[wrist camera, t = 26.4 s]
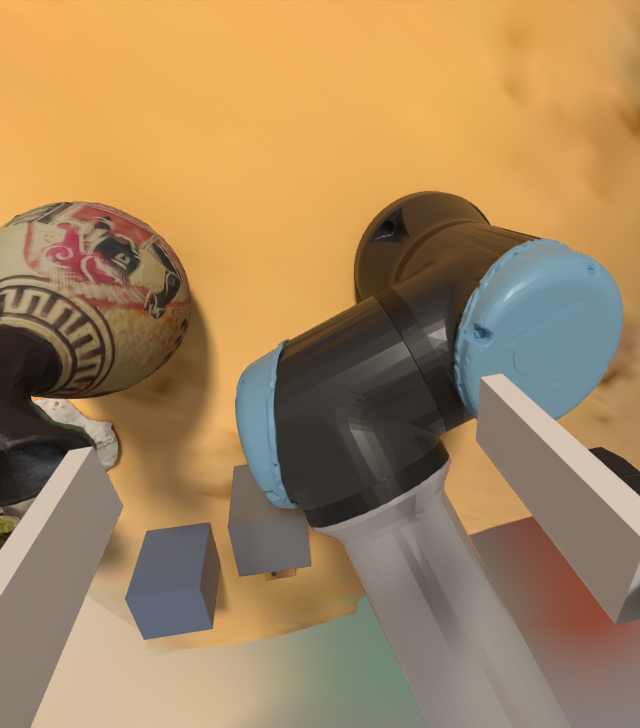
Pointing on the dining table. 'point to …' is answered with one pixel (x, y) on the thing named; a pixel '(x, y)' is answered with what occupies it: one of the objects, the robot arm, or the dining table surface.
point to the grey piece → (60, 410)
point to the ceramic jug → (77, 325)
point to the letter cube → (280, 574)
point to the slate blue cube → (175, 581)
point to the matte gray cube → (264, 529)
